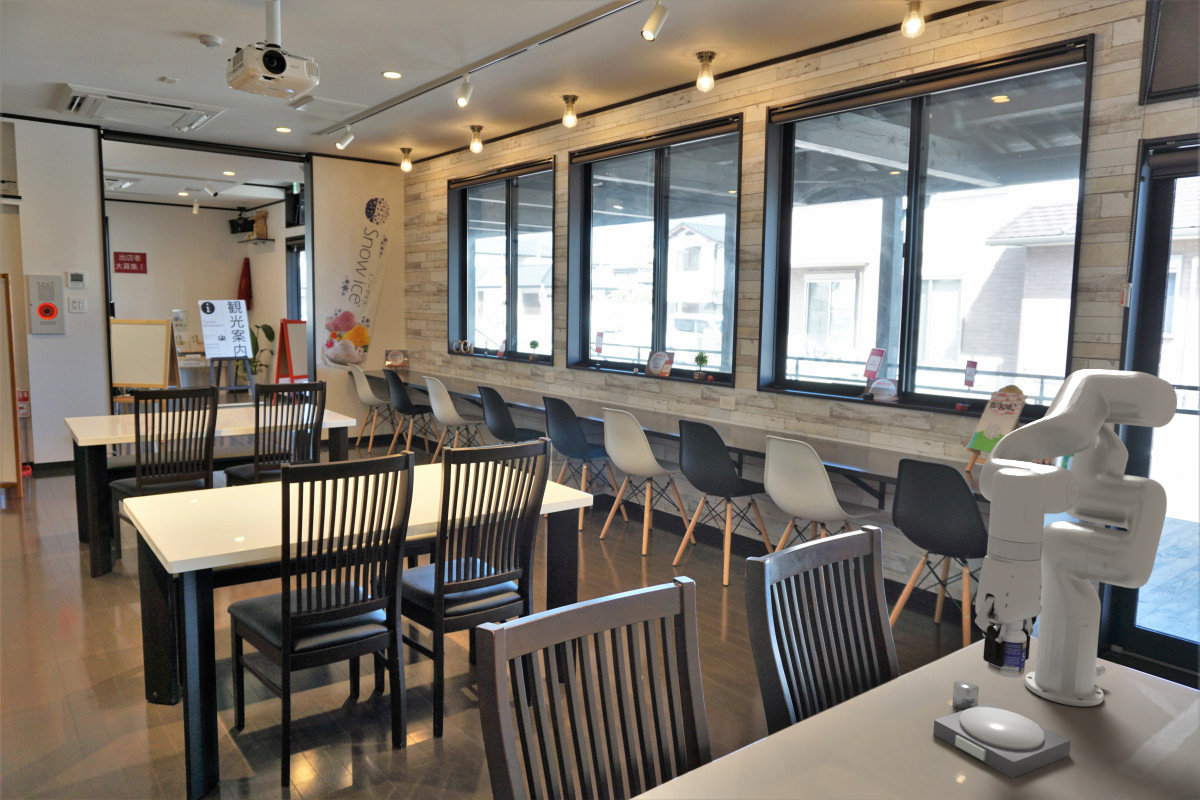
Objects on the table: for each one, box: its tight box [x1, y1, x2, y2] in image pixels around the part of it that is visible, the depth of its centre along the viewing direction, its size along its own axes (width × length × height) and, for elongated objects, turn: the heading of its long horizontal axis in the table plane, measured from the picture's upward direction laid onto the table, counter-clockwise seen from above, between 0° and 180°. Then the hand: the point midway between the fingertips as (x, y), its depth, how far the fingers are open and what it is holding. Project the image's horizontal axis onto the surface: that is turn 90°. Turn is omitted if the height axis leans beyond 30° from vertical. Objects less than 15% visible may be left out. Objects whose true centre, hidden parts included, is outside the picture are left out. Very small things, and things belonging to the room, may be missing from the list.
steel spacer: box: [951, 680, 980, 712], centre depth 140 cm, size 4×4×4 cm
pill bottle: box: [987, 615, 1027, 679], centre depth 126 cm, size 5×5×9 cm
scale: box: [932, 701, 1071, 779], centre depth 127 cm, size 14×14×3 cm
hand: (1005, 659), depth 126 cm, fingers closed on pill bottle, 5 cm apart
